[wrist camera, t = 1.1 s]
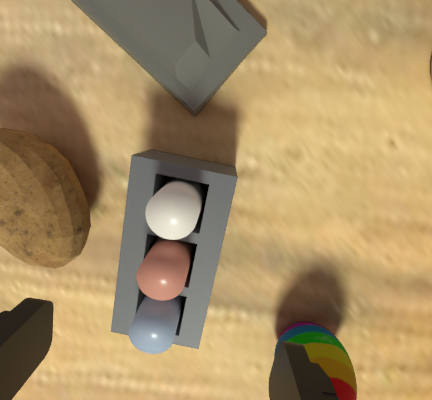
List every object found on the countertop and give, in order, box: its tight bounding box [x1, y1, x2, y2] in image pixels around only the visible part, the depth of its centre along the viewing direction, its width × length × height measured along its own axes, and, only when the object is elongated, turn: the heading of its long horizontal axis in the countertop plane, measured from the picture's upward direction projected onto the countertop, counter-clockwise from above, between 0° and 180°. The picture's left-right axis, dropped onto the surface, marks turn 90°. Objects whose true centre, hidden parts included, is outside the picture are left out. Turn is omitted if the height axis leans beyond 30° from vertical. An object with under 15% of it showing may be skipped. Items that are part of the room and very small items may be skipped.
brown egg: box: [136, 236, 194, 301], centre depth 25 cm, size 4×4×6 cm
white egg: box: [145, 177, 204, 240], centre depth 23 cm, size 4×4×6 cm
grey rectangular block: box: [111, 150, 238, 349], centre depth 28 cm, size 18×9×6 cm, turn 169°
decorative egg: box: [274, 322, 357, 400], centre depth 29 cm, size 8×8×10 cm
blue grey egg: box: [129, 295, 184, 354], centre depth 26 cm, size 4×4×6 cm
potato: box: [0, 128, 91, 269], centre depth 26 cm, size 10×14×8 cm
